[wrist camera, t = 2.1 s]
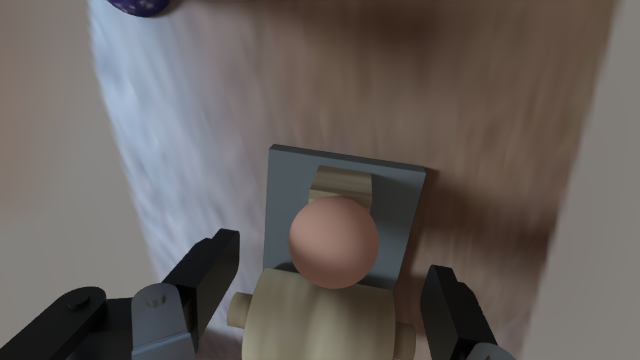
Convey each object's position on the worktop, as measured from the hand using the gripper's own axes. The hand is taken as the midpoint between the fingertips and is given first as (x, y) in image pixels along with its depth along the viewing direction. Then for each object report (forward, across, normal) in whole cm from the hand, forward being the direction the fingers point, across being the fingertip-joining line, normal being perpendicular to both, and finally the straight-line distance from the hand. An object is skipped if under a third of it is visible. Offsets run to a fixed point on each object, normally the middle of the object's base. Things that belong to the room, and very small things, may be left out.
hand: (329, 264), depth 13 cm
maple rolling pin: (+7, 0, +7) cm, 10 cm away
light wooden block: (+7, 0, -1) cm, 7 cm away
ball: (+3, 0, 0) cm, 3 cm away
